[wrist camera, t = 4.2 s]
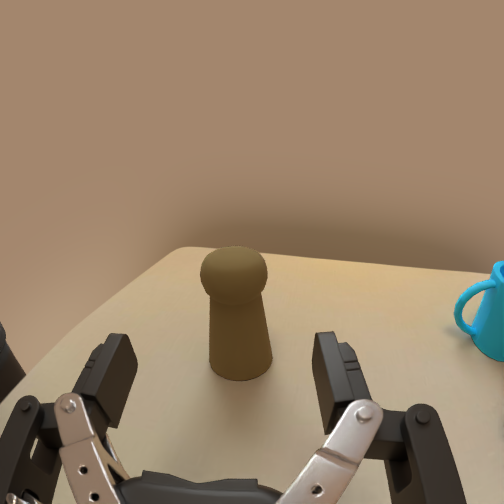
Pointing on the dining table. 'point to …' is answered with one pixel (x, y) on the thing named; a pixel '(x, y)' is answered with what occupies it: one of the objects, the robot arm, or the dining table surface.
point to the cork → (237, 312)
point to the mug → (486, 314)
